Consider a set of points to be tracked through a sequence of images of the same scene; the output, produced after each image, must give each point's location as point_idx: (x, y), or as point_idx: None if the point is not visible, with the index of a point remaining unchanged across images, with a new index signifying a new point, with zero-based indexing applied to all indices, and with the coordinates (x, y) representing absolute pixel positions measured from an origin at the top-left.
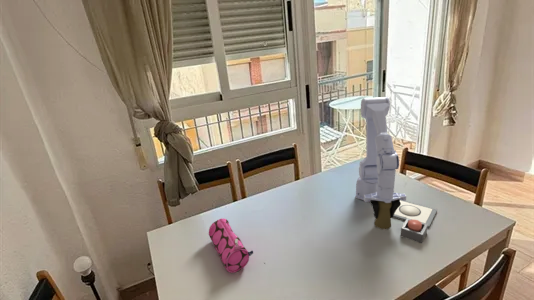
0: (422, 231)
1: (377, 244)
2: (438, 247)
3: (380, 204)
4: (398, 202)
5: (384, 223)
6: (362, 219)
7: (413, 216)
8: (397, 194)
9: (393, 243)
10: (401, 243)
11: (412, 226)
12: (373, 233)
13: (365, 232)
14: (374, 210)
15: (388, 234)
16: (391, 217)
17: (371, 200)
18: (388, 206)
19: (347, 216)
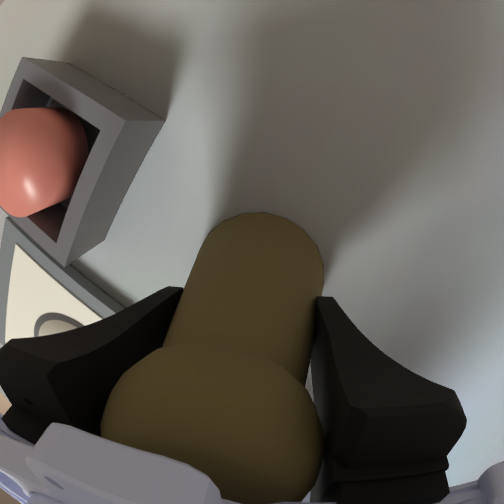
0: (12, 97)
1: (374, 32)
2: (18, 50)
3: (296, 437)
4: (14, 390)
5: (259, 236)
6: (385, 340)
7: (59, 312)
8: (10, 491)
9: (245, 33)
10: (184, 37)
11: (35, 114)
12: (371, 166)
13: (426, 188)
14: (382, 353)
15: (251, 142)
16: (175, 288)
17: (434, 499)
18: (157, 374)
19: (454, 367)
